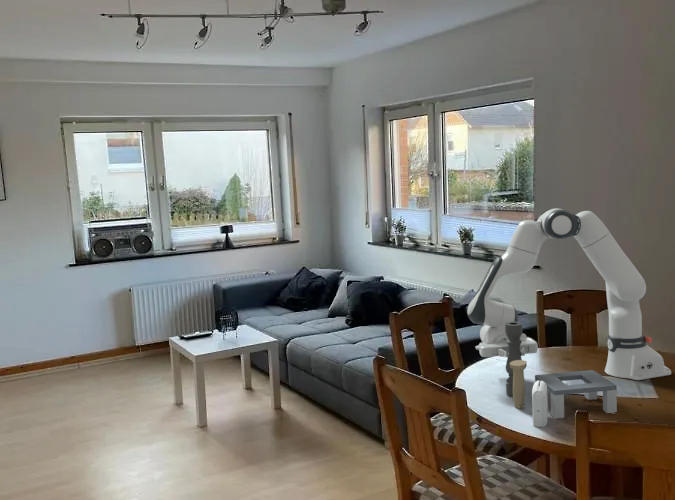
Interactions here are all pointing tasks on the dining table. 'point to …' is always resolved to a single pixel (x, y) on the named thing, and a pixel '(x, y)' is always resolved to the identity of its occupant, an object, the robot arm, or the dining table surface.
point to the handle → (518, 382)
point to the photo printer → (540, 404)
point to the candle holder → (512, 350)
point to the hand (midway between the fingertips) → (515, 354)
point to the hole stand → (579, 389)
